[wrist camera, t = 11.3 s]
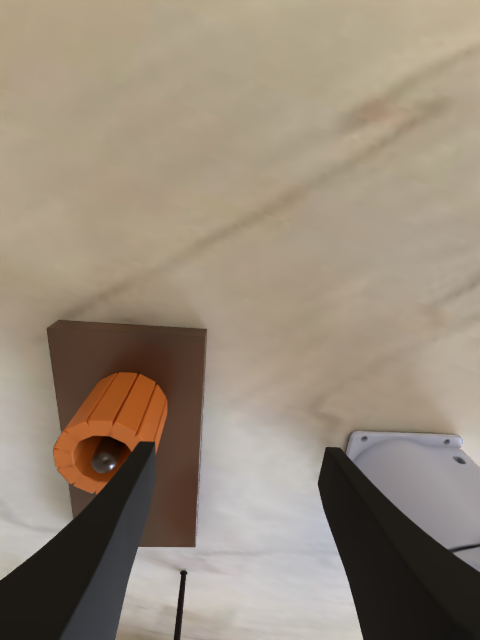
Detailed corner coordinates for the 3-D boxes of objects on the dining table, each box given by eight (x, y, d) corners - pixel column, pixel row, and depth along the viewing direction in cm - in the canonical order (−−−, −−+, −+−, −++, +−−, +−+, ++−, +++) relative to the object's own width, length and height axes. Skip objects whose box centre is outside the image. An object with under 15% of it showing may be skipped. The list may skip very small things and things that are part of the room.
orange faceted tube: (167, 373, 21) (150, 422, 16) (167, 436, 22) (152, 496, 18) (88, 370, 20) (47, 418, 16) (94, 433, 22) (59, 494, 17)
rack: (207, 328, 21) (199, 383, 15) (196, 530, 28) (188, 630, 21) (58, 319, 21) (-22, 373, 14) (84, 529, 27) (39, 632, 21)
